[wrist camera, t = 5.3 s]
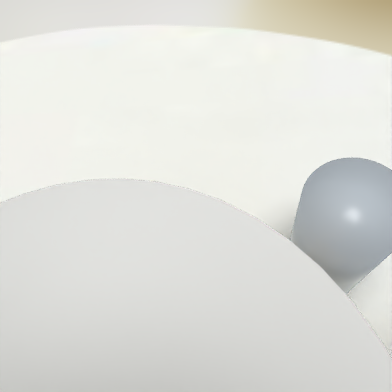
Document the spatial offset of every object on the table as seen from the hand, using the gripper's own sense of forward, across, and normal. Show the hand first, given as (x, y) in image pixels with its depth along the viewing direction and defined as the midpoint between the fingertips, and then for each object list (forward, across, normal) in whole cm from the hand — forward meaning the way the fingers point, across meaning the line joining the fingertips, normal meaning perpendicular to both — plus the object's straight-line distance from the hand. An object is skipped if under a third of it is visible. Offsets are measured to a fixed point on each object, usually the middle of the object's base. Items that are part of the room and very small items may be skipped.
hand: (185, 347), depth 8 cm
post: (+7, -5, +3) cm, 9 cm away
